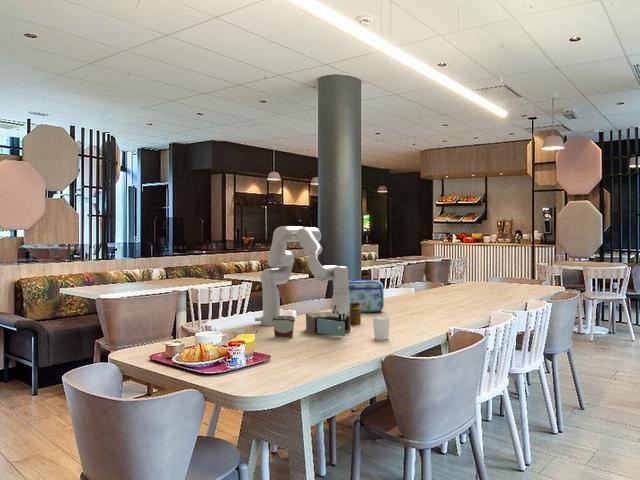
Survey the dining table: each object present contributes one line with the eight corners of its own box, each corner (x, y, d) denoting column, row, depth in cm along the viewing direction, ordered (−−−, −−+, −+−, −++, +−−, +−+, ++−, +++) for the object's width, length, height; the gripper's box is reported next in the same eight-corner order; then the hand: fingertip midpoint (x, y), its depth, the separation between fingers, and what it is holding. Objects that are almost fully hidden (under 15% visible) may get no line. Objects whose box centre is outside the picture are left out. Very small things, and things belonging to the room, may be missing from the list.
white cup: (379, 340, 249) (379, 319, 249) (370, 337, 256) (370, 317, 256) (392, 339, 252) (392, 318, 252) (383, 336, 259) (383, 316, 259)
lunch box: (342, 312, 335) (341, 279, 334) (345, 309, 345) (344, 278, 345) (382, 313, 329) (382, 280, 328) (384, 310, 339) (384, 278, 339)
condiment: (363, 324, 293) (363, 302, 293) (351, 325, 288) (351, 304, 288) (356, 322, 299) (355, 301, 299) (344, 324, 294) (343, 302, 294)
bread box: (313, 334, 264) (313, 317, 264) (306, 329, 278) (305, 313, 278) (350, 332, 270) (350, 314, 270) (341, 327, 284) (341, 310, 283)
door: (315, 333, 263) (315, 319, 263) (318, 332, 265) (317, 318, 265) (342, 336, 254) (342, 322, 254) (344, 335, 256) (344, 321, 256)
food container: (299, 335, 263) (299, 316, 262) (294, 338, 257) (294, 318, 257) (276, 334, 267) (276, 314, 266) (271, 336, 261) (271, 316, 261)
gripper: (343, 289, 268) (343, 324, 268) (326, 292, 256) (326, 329, 256) (355, 289, 263) (356, 326, 264) (338, 292, 251) (339, 330, 252)
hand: (341, 327), depth 260 cm, fingers closed
